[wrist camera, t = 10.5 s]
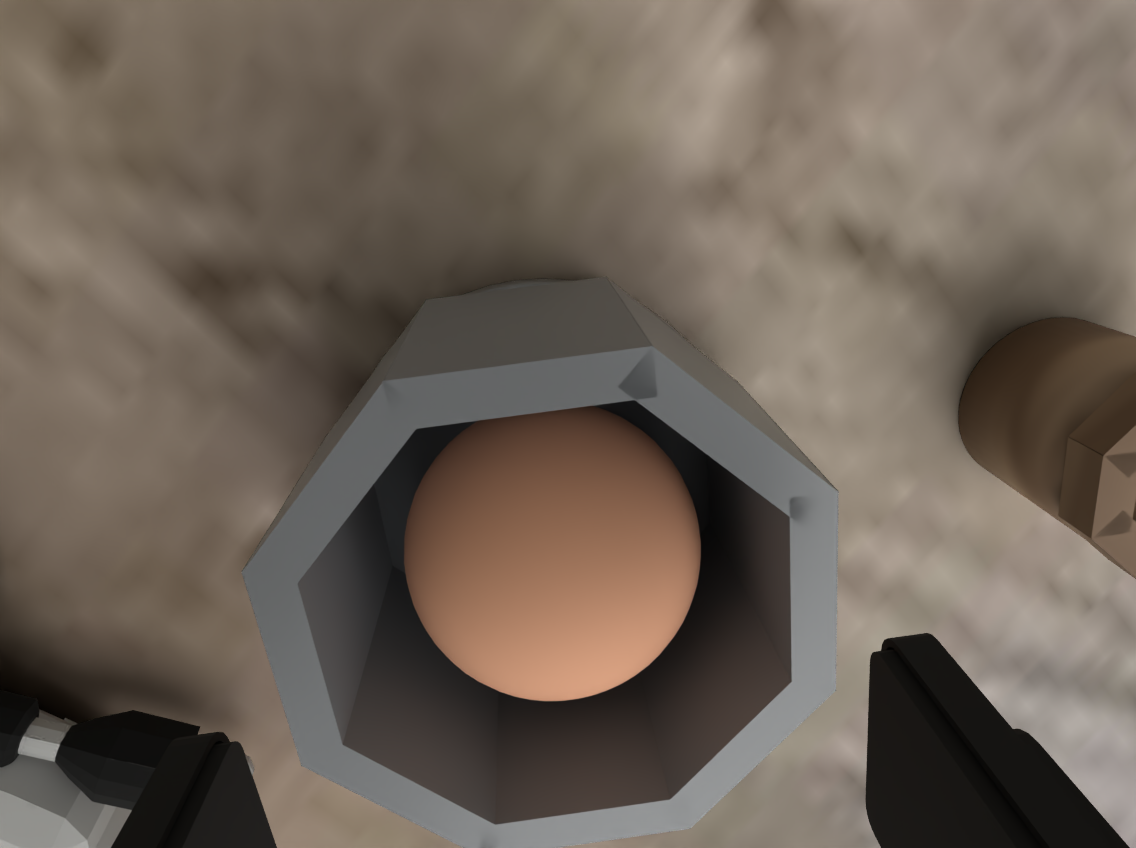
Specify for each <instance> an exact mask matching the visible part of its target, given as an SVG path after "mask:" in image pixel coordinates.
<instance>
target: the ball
mask: <svg viewBox="0 0 1136 848" xmlns="http://www.w3.org/2000/svg"><path fill="white" fill-rule="evenodd" d="M700 560H701V539H700V531H699V524H698V519H697V514H696V510H695V507H694V504H693V500H692V497H691V495H690V493H689V491H688V489H687V487H686V484H685V482H684V480H683V478H682V476H681V474H680V472H679V471H678V469H677V468H676V466H675V465H674V463H673V462H672V460H671V459H670V458H669V457H668V456H667V455H666V453H665V452H664V451H663V450H662V449H661V448H660V447H659V445H658V444H657V443H656V442H655V441H654V440H653V439H652V438H650V437H649V436H648V435H647V434H646V433H644V432H643V431H642V430H641V429H639V428H638V427H636V426H635V425H633V424H631V423H630V422H628V421H627V420H625V419H623V418H622V417H620V416H618V415H615V414H613V413H611V412H609V411H607V410H604V409H601V408H598V407H595V406H586V407H578V408H571V409H563V410H555V411H548V412H540V413H532V414H525V415H517V416H510V417H502V418H494V419H487V420H479V421H477V422H475V423H474V424H472V425H471V426H469V427H468V428H466V429H465V430H463V431H462V432H461V433H460V434H459V435H457V436H456V437H455V438H454V439H453V440H452V441H450V442H449V443H448V444H447V446H446V447H445V448H444V449H443V450H442V451H441V452H440V454H439V455H438V456H437V457H436V458H435V460H434V461H433V463H432V464H431V466H430V467H429V469H428V470H427V472H426V473H425V475H424V476H423V478H422V480H421V482H420V484H419V486H418V488H417V490H416V492H415V495H414V498H413V502H412V505H411V508H410V511H409V514H408V518H407V523H406V529H405V536H404V566H405V573H406V580H407V584H408V588H409V592H410V595H411V598H412V602H413V605H414V608H415V610H416V612H417V614H418V616H419V618H420V620H421V622H422V624H423V626H424V628H425V629H426V631H427V632H428V634H429V635H430V637H431V638H432V640H433V641H434V643H435V644H436V645H437V647H438V648H439V649H440V650H441V651H442V652H443V653H444V654H445V655H446V657H448V658H449V659H450V660H451V661H452V662H453V663H454V664H455V665H456V666H457V667H459V668H460V669H461V670H462V671H463V672H464V673H466V674H467V675H469V676H470V677H472V678H474V679H475V680H477V681H478V682H480V683H482V684H484V685H487V686H489V687H491V688H493V689H495V690H497V691H499V692H502V693H505V694H508V695H511V696H514V697H519V698H524V699H529V700H538V701H565V700H573V699H579V698H584V697H588V696H592V695H595V694H598V693H601V692H604V691H607V690H609V689H611V688H614V687H616V686H618V685H620V684H622V683H624V682H625V681H627V680H629V679H630V678H632V677H634V676H635V675H637V674H638V673H639V672H641V671H642V670H643V669H645V668H646V667H647V666H648V665H649V664H650V663H652V662H653V661H654V660H655V659H656V658H657V657H658V656H659V655H660V654H661V652H662V651H663V650H664V649H665V647H666V646H667V645H668V644H669V642H670V641H671V640H672V639H673V637H674V636H675V635H676V633H677V631H678V630H679V628H680V627H681V625H682V623H683V621H684V619H685V617H686V615H687V612H688V610H689V608H690V605H691V603H692V600H693V597H694V593H695V590H696V587H697V583H698V577H699V570H700Z"/></svg>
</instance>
